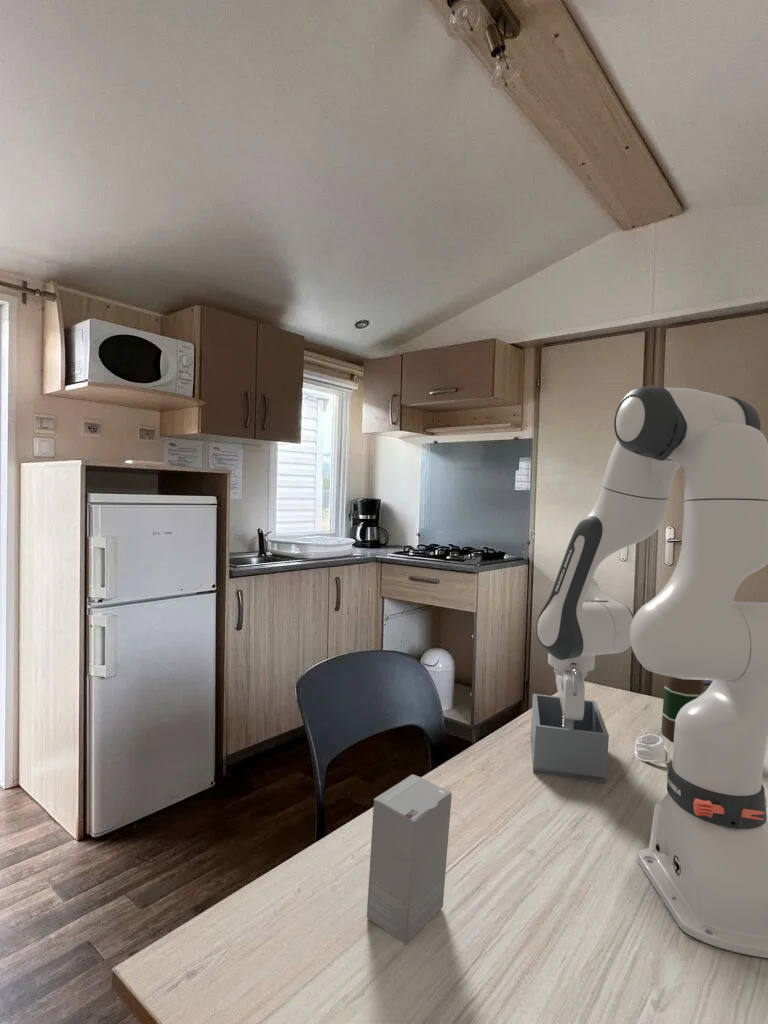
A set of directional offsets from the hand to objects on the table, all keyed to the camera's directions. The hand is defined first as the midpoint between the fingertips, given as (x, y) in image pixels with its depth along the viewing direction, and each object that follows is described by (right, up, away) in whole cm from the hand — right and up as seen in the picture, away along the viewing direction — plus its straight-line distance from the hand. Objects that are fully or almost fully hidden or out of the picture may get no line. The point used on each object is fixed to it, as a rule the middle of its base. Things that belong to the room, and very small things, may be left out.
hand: (567, 725), depth 119 cm
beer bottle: (+29, -7, +12) cm, 32 cm away
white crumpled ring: (+18, -8, +2) cm, 19 cm away
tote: (0, -7, 0) cm, 7 cm away
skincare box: (-34, -8, -45) cm, 57 cm away
